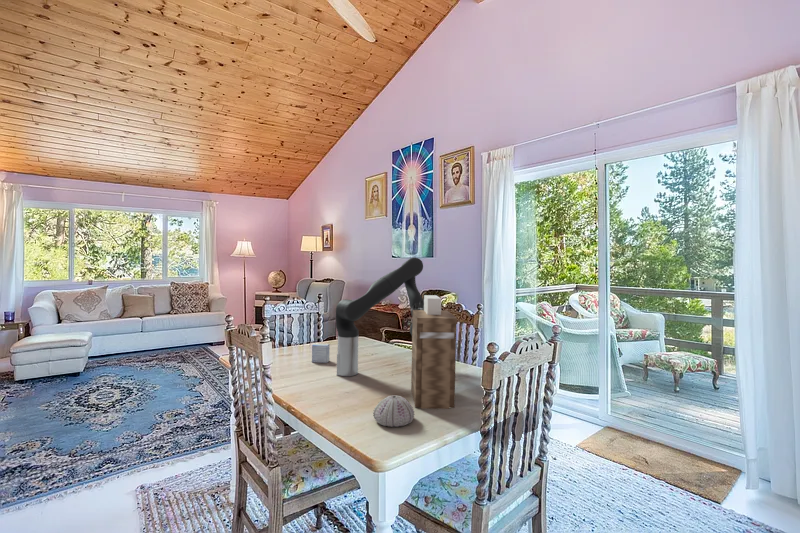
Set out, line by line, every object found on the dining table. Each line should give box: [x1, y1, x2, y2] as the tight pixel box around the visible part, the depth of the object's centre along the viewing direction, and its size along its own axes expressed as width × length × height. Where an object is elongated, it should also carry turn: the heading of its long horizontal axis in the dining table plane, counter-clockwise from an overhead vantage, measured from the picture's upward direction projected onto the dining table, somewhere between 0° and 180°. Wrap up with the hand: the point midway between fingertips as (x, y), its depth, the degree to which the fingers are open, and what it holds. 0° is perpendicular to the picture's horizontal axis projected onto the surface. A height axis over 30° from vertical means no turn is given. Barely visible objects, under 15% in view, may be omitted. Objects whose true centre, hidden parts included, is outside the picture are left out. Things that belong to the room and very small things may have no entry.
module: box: [423, 294, 442, 315], centre depth 156 cm, size 5×21×6 cm, turn 3°
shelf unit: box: [410, 309, 458, 410], centre depth 148 cm, size 14×21×32 cm
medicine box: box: [311, 342, 331, 364], centre depth 197 cm, size 8×4×9 cm, turn 84°
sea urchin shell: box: [372, 394, 415, 428], centre depth 128 cm, size 13×14×8 cm
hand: (428, 301), depth 162 cm, fingers open, 4 cm apart
